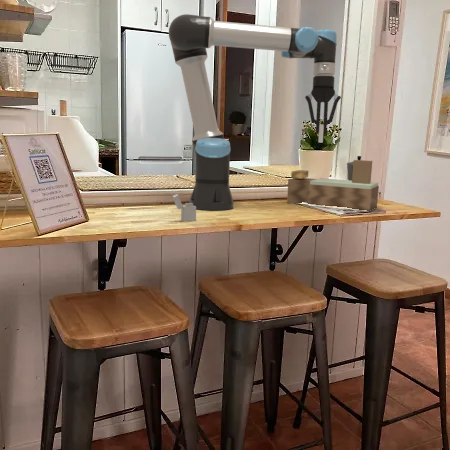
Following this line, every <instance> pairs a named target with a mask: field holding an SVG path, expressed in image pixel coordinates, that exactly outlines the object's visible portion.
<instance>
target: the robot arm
mask: <svg viewBox="0 0 450 450" xmlns="http://www.w3.org/2000/svg"><path fill="white" fill-rule="evenodd" d="M168 38H169V41H170V46H171V47H172V54H173V58H174V62H175V64H176V65H177V66H179V67H180V70H181V74H182V75H181V76H182V79H183V83H184V89H185V94H186V98H187V102H188V106H189V112H190V116H191V122H192V126H193V130H194V131H193V132H194V136H193V138H192V139H191V140H192V141H191V142H192V147H193V151H194V155H195V170H194V171H195V178H194V179H195V180H194V183H195V184H194V186H193V191H192V193H191V196H190V200H189V203H193V206H196V210H202V211H203V210H204V211H205V210H206V211H226V210H231V209H234V199H233V195H232V191H231V187H230V167H231V165H230V163H231V162H230V161H231V160H230V159H231V149H232V148H231V143H230V141H229V140H227V139H225V137H224V136H225V135H224V133H223V132H222V131H221V130H219V127H218V122H217V118H216V113H215V107H214V104H213V103H214V102H213V98H212V93H211V89H210V88H211V87H210V82H209V79H208V74H207V73H208V72H207V69H206V68H207V67H206V61H207V59H208V51H207V49H210V48H211V47H213V46H214V47H215V46H216V47H226V48H227V47H228V48H239V49H240V48H241V49H253V50H265V51H277V52H278V51H279V52H280V55H281V57H282V58H283V59H286V58H287V59H310V60H311V59H313V77H312V78H313V79H312V90H311V91H310V93H309V94H308V95H305V97H304V98H305V100H306V102H307V105H308V110H309V117H310V121H311V123H313V124H315V133H316V134H318V140H317V142H318V143H322V144H323V142H324V134H327V132H328V131H327V130H328V129H327V128H328V127H327V126H328V124H330V123H332V122H333V120H334V117H335V113H336V109H337V105H338V104H339V101H340V100H341V98H342V96H341V95H338V94H337V93H336V91H335V74H336V73H335V72H336V53H337V43H338V42H337V32H336V31H335V30H334V29H333V30H332V29H318V30H316V29H315V28H314V27H311V26H303V27H300V28H298V27H289V26H288V27H287V26H285V27H284V26H277V25H276V26H275V25H274V26H273V25H267V24H266V25H263V24H256V23H255V24H253V23H252V24H251V23H243V22H242V23H241V22H233V21H232V22H231V21H220V20H214V19H213V17H212V16H203V15H197V14H196V15H195V14H188V13H187V14H185V13H184V14H182V15H181V14H180V15H178V16H177V17H175V18H173V20H172V21H171V22H170V25H169V28H168ZM313 99H314V100H315V102H316V117H315V113H314V109H313V103H312V100H313ZM331 99H333V105H332V107H331V111H330V114H329V118H328V110H329V102H330V101H331ZM322 103H323V121H322V122H323V123H322V124H320V123H321V106H322ZM315 118H316V119H315Z"/></svg>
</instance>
